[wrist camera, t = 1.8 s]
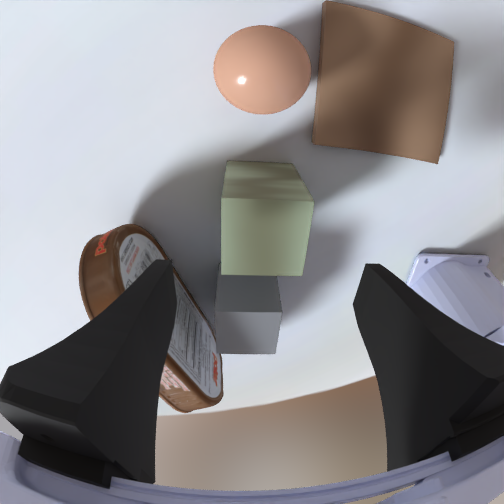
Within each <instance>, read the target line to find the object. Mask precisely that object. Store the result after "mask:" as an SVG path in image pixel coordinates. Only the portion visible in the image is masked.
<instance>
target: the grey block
mask: <svg viewBox="0 0 504 504" xmlns="http://www.w3.org/2000/svg"><path fill="white" fill-rule="evenodd" d="M214 313H215V335H216V353H219V354H275V353H276V347H277V342H278V336H279V330H280V324H281V318H282V307H281V301H280V295H279V288H278V282H277V276H261V275H221V264H219V268H218V278H217V289H216V300H215V311H214Z"/></svg>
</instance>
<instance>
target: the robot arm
mask: <svg viewBox="0 0 504 504" xmlns="http://www.w3.org/2000/svg"><path fill="white" fill-rule="evenodd" d="M426 259H427V260H426ZM489 260H490V259H489V257H488V256H487V255H459V254H426V253H422V254H419V255H418V256H417V257H416V259H415V262H414V265H413V267H412V270H411V273H410V275H409V278H408V280H407V283H406V284H405V283H404V282H403V281H402V280H400V279H399V278H398V277H397V276H395V275H394V274H393V273H392V272H390V271H389V270H388V269H386V268H385V267H384V266H382V265H380V264H365V267H364V271H363V274H362V277H361V280H360V284H359V287H358V290H357V293H356V296H355V299H354V302H353V307H354V312H355V316H356V320H357V324H358V327H359V330H360V333H361V336H362V338H363V341H364V344H365V346H366V349H367V352H368V354H369V357H370V360H371V363H372V365H373V368H374V371H375V374H376V378H377V381H378V385H379V390H380V395H381V400H382V406H383V412H384V419H385V428H386V437H387V463H388V464H387V472H384V473H380V474H376V475H372V476H368V477H364V478H359V479H354V480H349V481H343V482H338V483H332V484H326V485H319V486H311V487H303V488H293V489H281V490H262V491H218V490H199V489H187V488H177V487H169V486H161V485H154V484H153V483H155V436H156V420H157V408H158V398H159V389H160V383H161V377H162V373H163V369H164V365H165V361H166V357H167V353H168V349H169V345H170V341H171V337H172V333H173V329H174V324H175V317H176V310H177V296H176V289H175V281H174V273H173V265H172V260H163V259H156V260H155V261H154V262H153V263H152V264H150V265H149V266H148V268H147V269H146V270H145V271H144V272H143V273H142V274H141V275H140V276H139V277H138V278H137V279H136V280H135V281H134V282H133V283H132V284H131V285H130V286H129V287H128V288H127V289H126V290H125V291H124V292H123V293H122V294H121V295H120V296H119V297H118V298H117V299H116V300H115V301H113V302H112V303H111V304H110V305H109V306H108V307H107V308H106V309H105V310H104V311H102V312H101V313H100V314H99V315H97V316H96V317H95V318H94V319H92V320H91V321H90V322H88V323H87V324H86V325H84V326H83V327H82V328H80V329H79V330H77V331H76V332H74V333H73V334H71V335H70V336H68V337H67V338H65V339H64V340H62V341H60V342H59V343H57V344H55V345H53V346H52V347H50V348H48V349H46V350H44V351H42V352H41V353H39V354H37V355H35V356H33V357H30V358H28V359H26V360H23V361H21V362H19V363H17V364H14V365H12V366H9V367H8V369H7V371H6V373H5V375H4V377H3V379H2V381H1V384H0V413H1V414H2V415H3V416H4V417H5V418H6V419H7V420H8V421H9V422H10V423H11V424H12V425H13V426H14V427H16V428H17V429H18V430H19V431H20V432H21V433H22V434H23V438H22V441H19V440H17V439H16V438H14V437H12V436H10V435H8V434H6V433H4V432H2V431H0V504H343V503H348V502H353V501H358V500H362V499H366V498H370V497H374V496H377V495H382V494H385V493H388V492H392V491H395V490H398V489H401V488H404V487H408V486H411V485H413V484H415V485H414V486H413V487H411V488H409V489H406V490H404V491H401V492H398V493H395V494H394V495H392V496H391V497H389V498H387V499H385V500H383V501H381V502H379V503H376V504H488V503H490V502H491V501H492V500H494V499H495V498H496V497H497V496H499V495H500V494H501V493H503V492H504V286H503V285H502V284H501V282H500V281H499V280H498V279H497V278H496V277H495V276H494V274H493V273H492V272H491V271H490V270H489V269H488V268H487V265H488V263H489Z"/></svg>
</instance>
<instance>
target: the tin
mask: <svg viewBox="0 0 504 504" xmlns="http://www.w3.org/2000/svg"><path fill="white" fill-rule="evenodd" d="M156 259H163V260H169V259H168V258H167V256H166V254H165V253H164V251H163V250H162V248H161V247H160V245H159V244H158V242H157V241H156V240H155V239H154V238H153V236H152V235H150V234H149V233H148V232H147V231H146V230H145V229H143V228H142V227H140V226H137V225H134V224H126V225H122V226H119V227H117V228H115V229H113V230H111V231H109V232H107V233H105V234H102V235H97V236H95V237H93V238H92V239H91V240H90V241H89V242H88V243H87V244H86V246H85V247H84V249H83V252H82V255H81V258H80V264H79V286H80V291H81V296H82V300H83V303H84V306H85V309H86V312H87V314H88V317H89V319H90V321H91V320H92V319H94V318H95V317H96V316H97V315H99V314H100V313H101V312H102V311H104V310H105V309H106V308H107V307H108V306H109V305H110V304H111V303H112V302H113V301H115V300H116V299H117V298H118V297H119V296H120V295H121V294H122V293H123V292H124V291H125V290H126V289H127V288H128V287H129V286H130V285H131V284H132V283H133V282H134V281H135V280H136V279H137V278H138V277H139V276H140V275H141V274H142V273H143V272H144V271H145V270H146V269H147V268H148V266H149V265H150V264H152V263H153V262H154V261H155V260H156ZM173 273H174V281H175V289H176V296H177V310H176V317H175V324H174V329H173V333H172V337H171V341H170V345H169V349H168V353H167V357H166V361H165V365H164V369H163V373H162V377H161V383H160V389H159V397H161V398H162V399H163V400H164V401H165V402H166V403H167V404H168V405H169V406H171V407H172V408H173V409H175V410H176V411H179V412H182V413H188V412H191V411H193V410H197V409H202V408H207V407H211V406H214V405H216V404H218V403H219V402H220V401H221V399H222V397H223V374H222V357H221V354H219V353H216V338H215V336H214V333H213V331H212V329H211V327H210V325H209V323H208V321H207V320H206V318H205V317H204V315H203V313H202V312H201V310H200V309H199V307H198V306H197V304H196V303H195V301H194V299H193V298H192V296H191V295H190V293H189V291H188V290H187V288H186V287H185V285H184V283H183V282H182V280H181V279H180V277H179V275H178V274H177V272H176V271H175V269H174V267H173Z"/></svg>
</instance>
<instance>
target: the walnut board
mask: <svg viewBox="0 0 504 504" xmlns="http://www.w3.org/2000/svg"><path fill="white" fill-rule="evenodd" d="M453 55H454V42H453V41H451V40H449V39H447V38H444V37H442V36H440V35H438V34H435V33H433V32H431V31H428V30H426V29H423V28H421V27H418V26H416V25H413V24H410V23H407V22H405V21H402V20H399V19H396V18H393V17H390V16H387V15H383V14H380V13H377V12H373V11H370V10H366V9H362V8H358V7H354V6H350V5H346V4H341V3H337V2H332V1H327V0H326V1H325V2H323V3H322V23H321V40H320V55H319V68H318V81H317V92H316V103H315V114H314V124H313V133H312V143H313V144H314V145H322V146H331V147H340V148H348V149H356V150H363V151H370V152H376V153H382V154H388V155H394V156H400V157H405V158H411V159H416V160H421V161H426V162H430V163H435V164H438V161H439V156H440V152H441V147H442V142H443V136H444V131H445V125H446V119H447V112H448V105H449V98H450V90H451V80H452V69H453Z"/></svg>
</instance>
